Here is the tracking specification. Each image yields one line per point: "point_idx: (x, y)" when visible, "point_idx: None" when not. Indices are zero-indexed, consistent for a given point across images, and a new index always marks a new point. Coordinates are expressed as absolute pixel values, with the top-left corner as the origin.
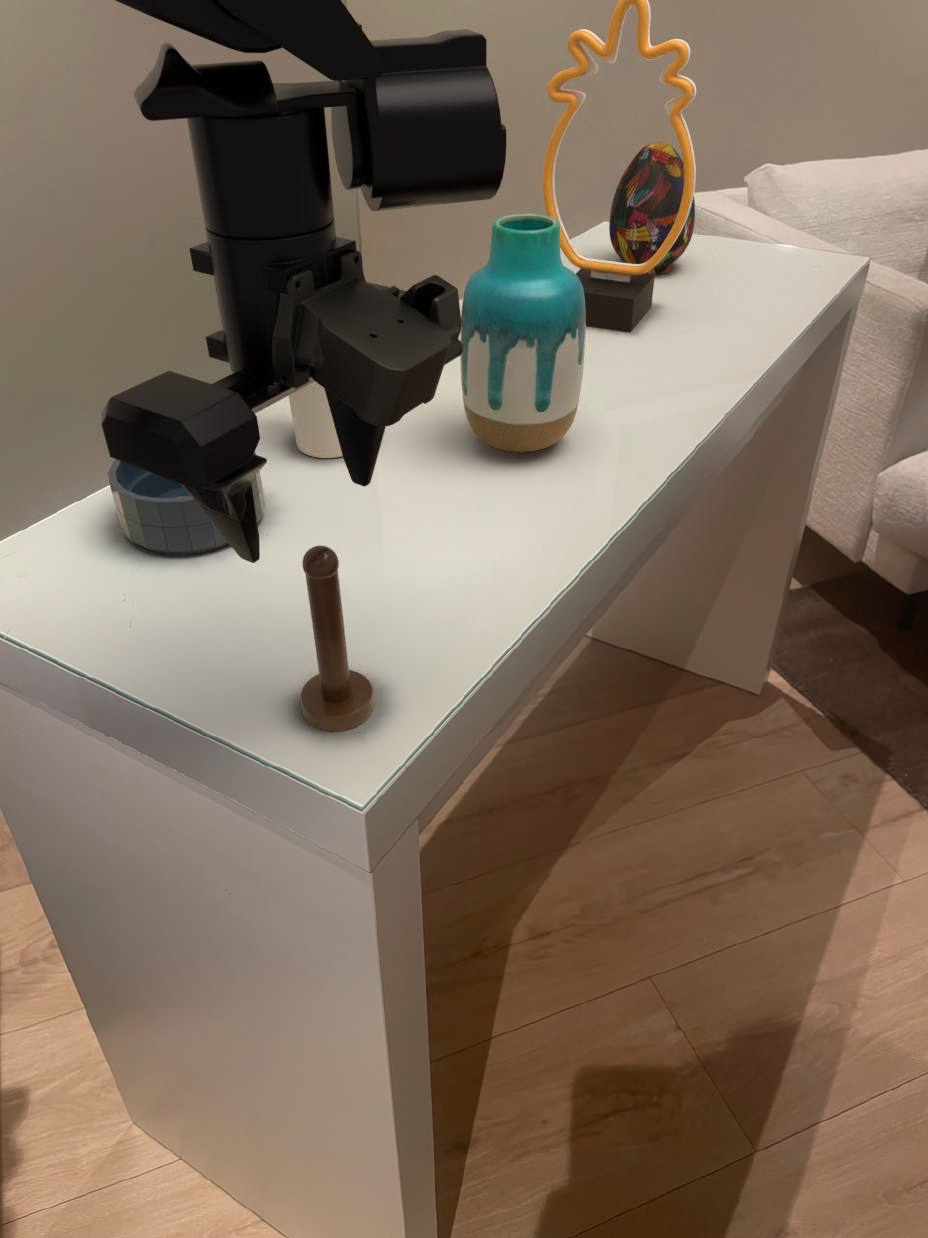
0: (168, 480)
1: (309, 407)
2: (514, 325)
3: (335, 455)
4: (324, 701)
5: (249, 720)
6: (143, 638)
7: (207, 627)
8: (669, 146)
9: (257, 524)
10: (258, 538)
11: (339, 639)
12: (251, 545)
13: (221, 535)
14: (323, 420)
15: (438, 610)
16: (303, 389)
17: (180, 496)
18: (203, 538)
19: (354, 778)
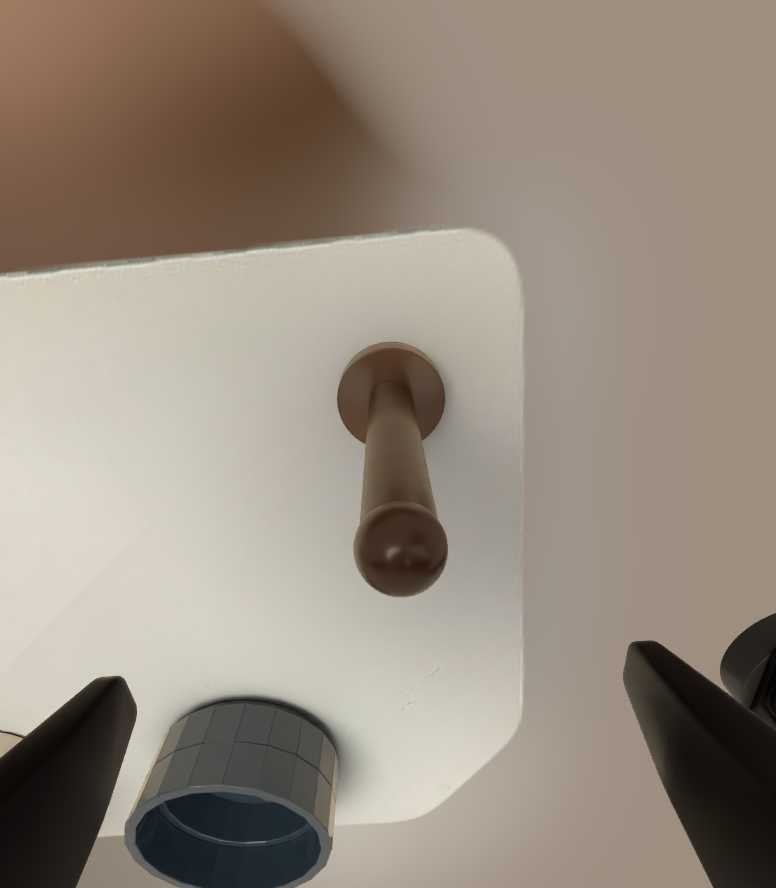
0: (237, 818)
1: None
2: None
3: (19, 741)
4: (417, 401)
5: (479, 464)
6: (444, 648)
7: (384, 615)
8: None
9: (757, 774)
10: (696, 709)
11: (396, 423)
12: (723, 698)
13: (262, 718)
14: None
15: (131, 421)
16: None
17: (265, 799)
18: (284, 727)
19: (487, 272)
